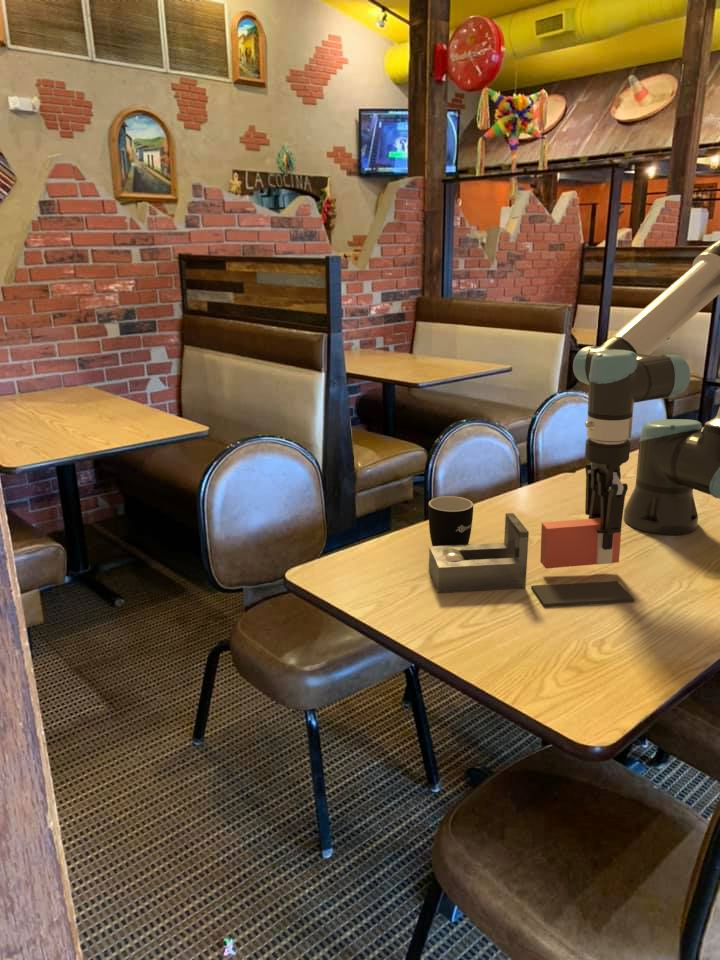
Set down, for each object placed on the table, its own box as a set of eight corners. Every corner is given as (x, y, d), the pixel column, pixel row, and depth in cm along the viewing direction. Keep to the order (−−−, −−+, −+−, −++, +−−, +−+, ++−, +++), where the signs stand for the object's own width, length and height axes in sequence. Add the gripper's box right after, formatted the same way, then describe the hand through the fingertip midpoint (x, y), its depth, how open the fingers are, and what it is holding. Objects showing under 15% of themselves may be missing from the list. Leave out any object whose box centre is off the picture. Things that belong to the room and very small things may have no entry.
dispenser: (510, 566, 140) (513, 513, 136) (525, 588, 131) (528, 532, 127) (428, 570, 138) (429, 516, 135) (438, 592, 129) (439, 536, 126)
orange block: (612, 555, 137) (614, 516, 135) (618, 562, 135) (621, 522, 132) (540, 561, 137) (541, 522, 134) (545, 568, 134) (547, 528, 131)
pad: (616, 583, 132) (617, 580, 132) (633, 601, 125) (634, 598, 125) (531, 588, 130) (531, 585, 130) (543, 606, 124) (544, 603, 124)
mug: (456, 562, 142) (457, 514, 138) (419, 551, 147) (419, 504, 144) (487, 543, 150) (489, 498, 147) (451, 533, 156) (452, 489, 153)
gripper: (571, 428, 136) (565, 543, 143) (606, 452, 120) (597, 579, 128) (609, 426, 136) (601, 540, 144) (649, 449, 121) (638, 576, 128)
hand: (599, 558), depth 136 cm, fingers closed on orange block, 3 cm apart
